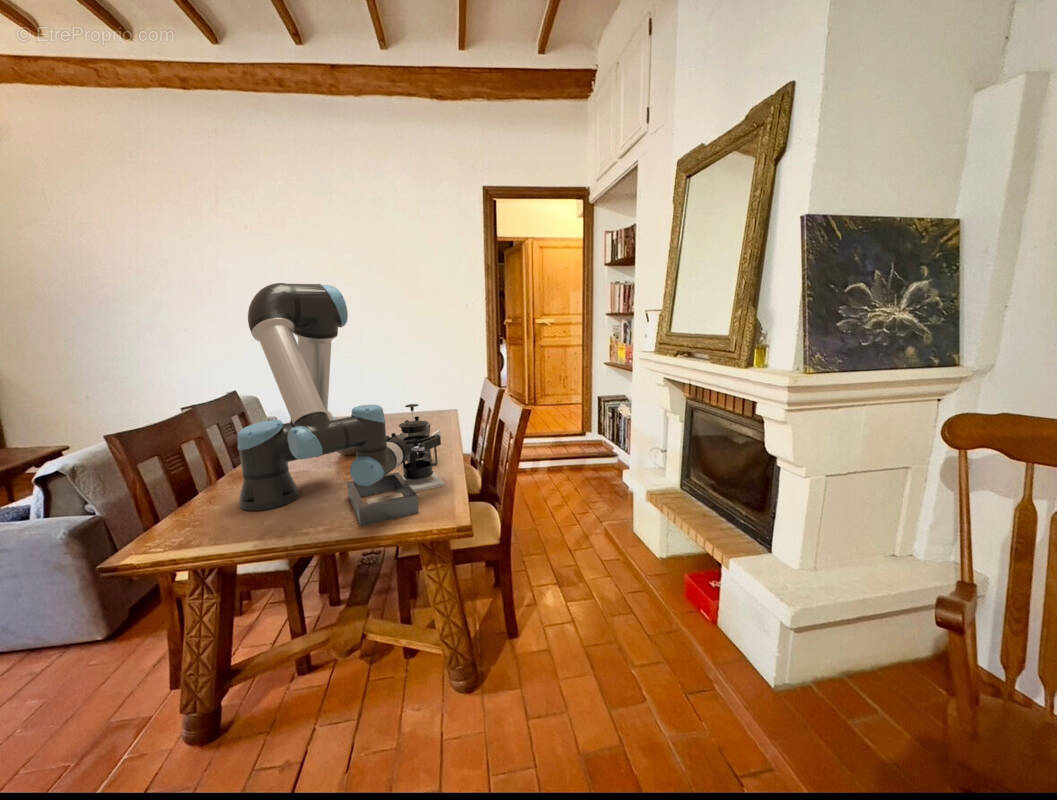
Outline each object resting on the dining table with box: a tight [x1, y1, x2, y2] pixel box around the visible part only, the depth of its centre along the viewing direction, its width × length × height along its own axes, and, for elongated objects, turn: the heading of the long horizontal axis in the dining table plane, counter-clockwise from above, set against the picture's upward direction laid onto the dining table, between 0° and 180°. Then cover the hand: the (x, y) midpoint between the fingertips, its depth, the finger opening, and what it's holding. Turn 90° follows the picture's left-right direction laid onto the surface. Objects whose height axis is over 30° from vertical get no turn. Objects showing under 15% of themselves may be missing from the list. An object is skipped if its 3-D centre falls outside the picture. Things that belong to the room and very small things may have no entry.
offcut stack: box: [366, 492, 403, 504], centre depth 119 cm, size 11×4×5 cm, turn 120°
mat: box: [401, 471, 446, 493], centre depth 142 cm, size 11×14×1 cm
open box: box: [346, 471, 420, 528], centre depth 125 cm, size 15×22×5 cm
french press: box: [398, 403, 439, 480], centre depth 140 cm, size 12×9×23 cm
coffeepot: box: [404, 416, 434, 464], centre depth 159 cm, size 15×9×18 cm, turn 45°
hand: (422, 433), depth 143 cm, fingers closed on french press, 11 cm apart
